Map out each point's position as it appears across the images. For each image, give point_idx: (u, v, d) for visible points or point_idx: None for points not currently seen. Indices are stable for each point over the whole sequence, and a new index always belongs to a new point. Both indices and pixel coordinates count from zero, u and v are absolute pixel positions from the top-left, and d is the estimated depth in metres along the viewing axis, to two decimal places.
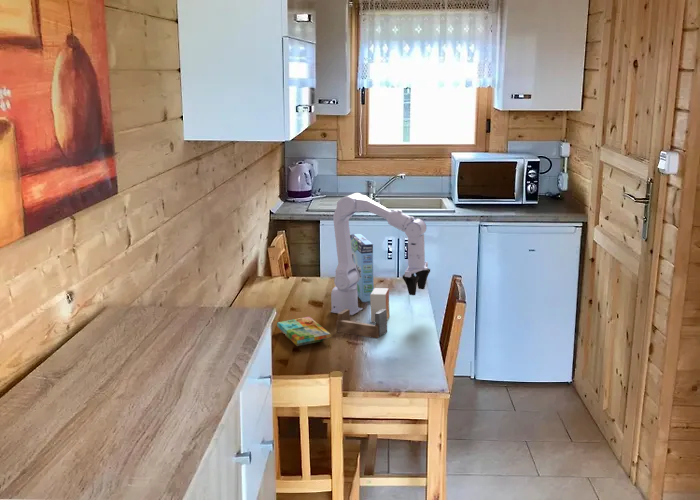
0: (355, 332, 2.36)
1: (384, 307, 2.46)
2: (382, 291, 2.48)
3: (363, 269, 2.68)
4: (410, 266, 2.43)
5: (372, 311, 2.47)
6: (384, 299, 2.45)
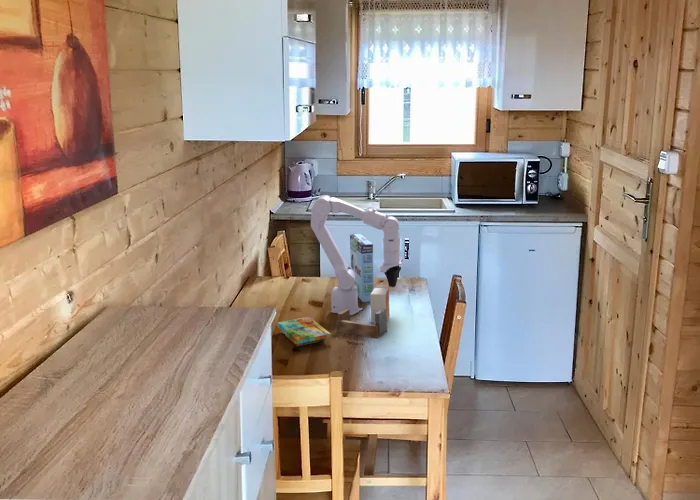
0: (355, 332, 2.36)
1: (384, 307, 2.46)
2: (382, 291, 2.48)
3: (363, 269, 2.68)
4: (385, 262, 2.53)
5: (372, 311, 2.47)
6: (384, 299, 2.45)
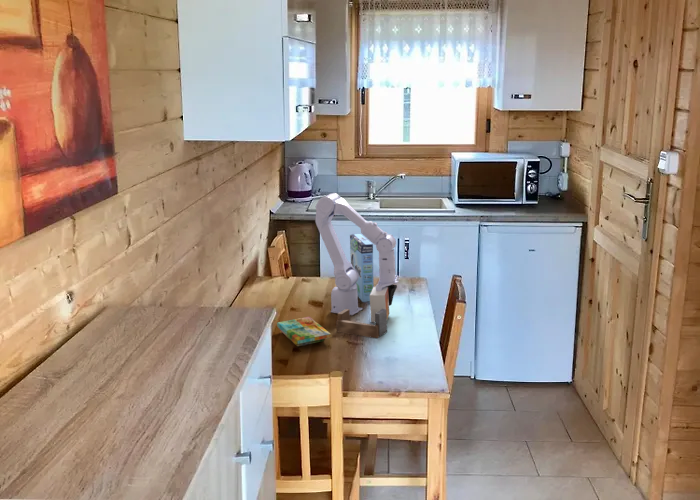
0: (355, 332, 2.36)
1: (384, 307, 2.45)
2: (381, 292, 2.46)
3: (363, 269, 2.68)
4: (381, 280, 2.51)
5: (372, 311, 2.46)
6: (383, 300, 2.44)
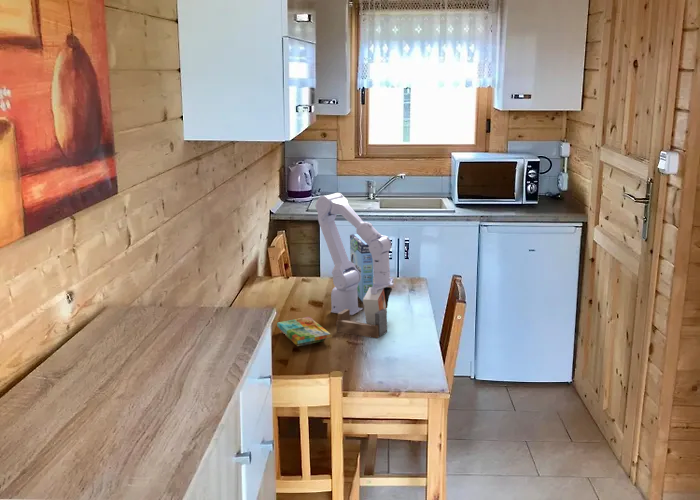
0: (355, 332, 2.36)
1: (377, 311, 2.42)
2: (375, 295, 2.43)
3: (363, 269, 2.68)
4: (376, 283, 2.47)
5: (366, 314, 2.44)
6: (377, 304, 2.41)
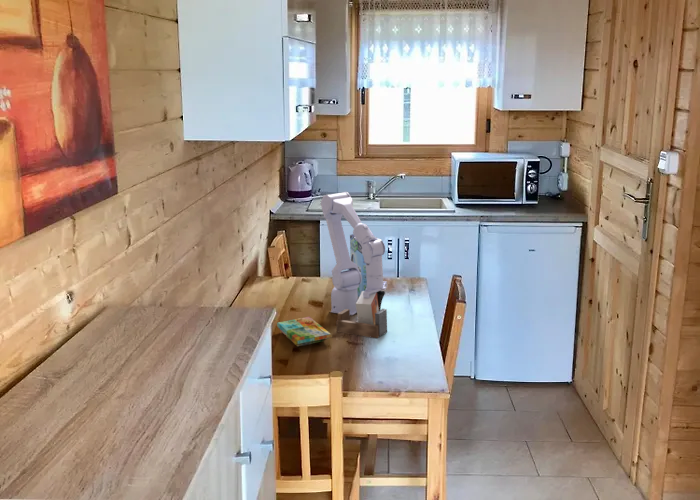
0: (355, 332, 2.36)
1: (370, 316, 2.38)
2: (368, 299, 2.39)
3: (363, 269, 2.68)
4: (369, 286, 2.43)
5: (359, 318, 2.40)
6: (370, 308, 2.37)
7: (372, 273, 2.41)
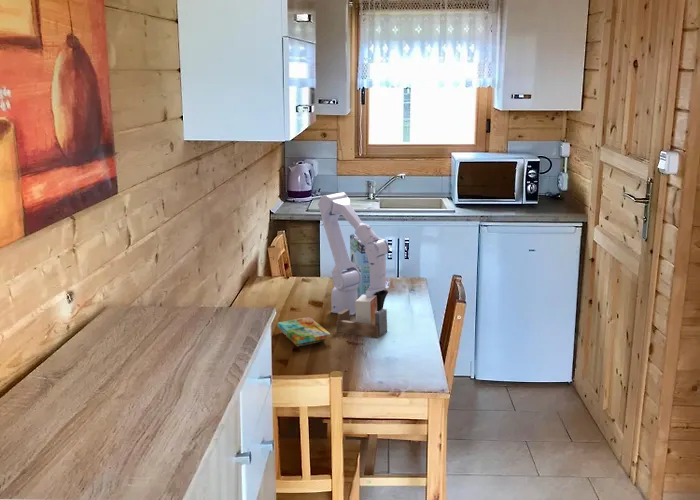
0: (355, 332, 2.36)
1: (369, 315, 2.38)
2: (368, 299, 2.40)
3: (363, 269, 2.68)
4: (371, 286, 2.46)
5: (357, 318, 2.40)
6: (369, 306, 2.38)
7: (377, 272, 2.43)
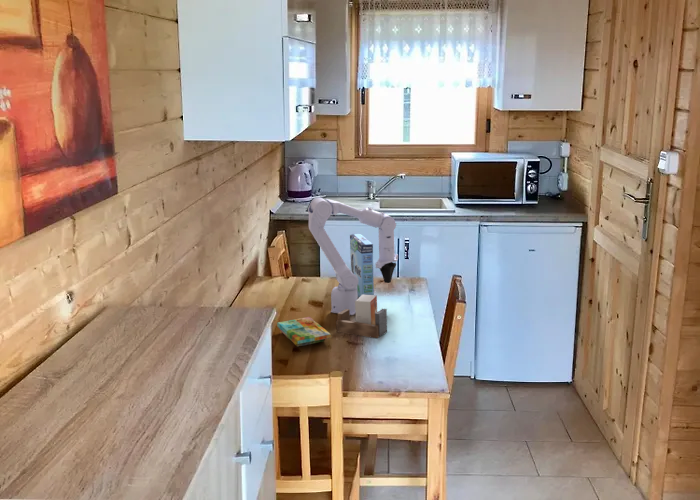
0: (355, 332, 2.36)
1: (369, 315, 2.38)
2: (368, 299, 2.40)
3: (363, 269, 2.68)
4: (381, 258, 2.59)
5: (357, 318, 2.40)
6: (369, 306, 2.38)
7: (393, 244, 2.58)
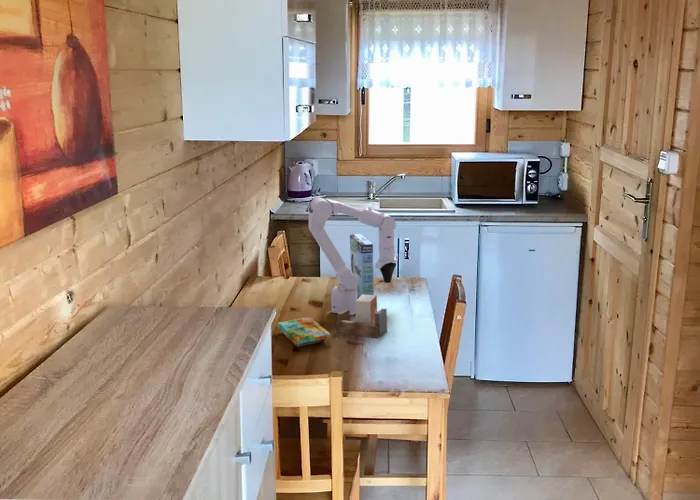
0: (355, 332, 2.36)
1: (369, 315, 2.38)
2: (368, 299, 2.40)
3: (363, 269, 2.68)
4: (381, 258, 2.59)
5: (357, 318, 2.40)
6: (369, 306, 2.38)
7: (393, 244, 2.58)
